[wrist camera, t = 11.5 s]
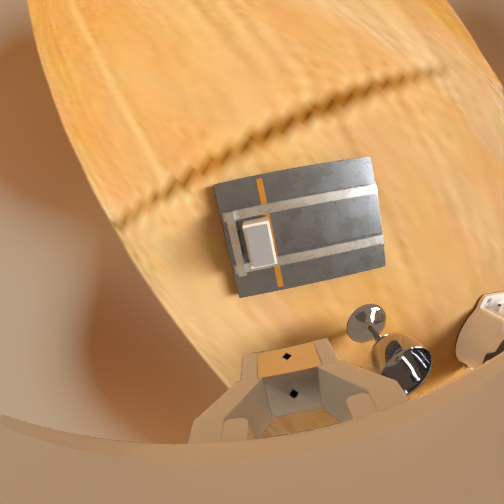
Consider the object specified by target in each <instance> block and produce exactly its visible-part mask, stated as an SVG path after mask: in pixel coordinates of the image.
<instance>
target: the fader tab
mask: <svg viewBox="0 0 504 504" xmlns="http://www.w3.org/2000/svg"><path fill="white" fill-rule="evenodd" d="M242 227H243V232H244V236H245V241H246V245H247V250H248V255H249V259H250V264H251V268H252V269H253V268H258V267H263V266H268V265H273V264H277V258H276V253H275V248H274V243H273V238H272V233H271V228H270V223H269V220H268V218H267V216H264V217H259V218H254V219H249V220H244V222H243V225H242Z"/></svg>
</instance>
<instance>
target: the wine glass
mask: <svg viewBox="0 0 504 504" xmlns="http://www.w3.org/2000/svg"><path fill="white" fill-rule="evenodd" d="M385 323H386V315H385V312H384V310H383V309H382V308H381V307H380V306H378V305H375V304H367V305H364V306H362V307H360V308H358V309H357V310H356V311H355V312H354V313H353V314H352V315H351V317H350V319H349V321H348V324H347V331H348V334H349V336H350V338H351V339H353V340H354V341H356V342H362V343H363V342H368V341H371V340H373V339H375V341H376V343H375V344H374V345H373V347H372V349H371V351H370V354H369V369H370V371H371V372H374V373H377V374H379V375H382V376H385V377H388V378H390V379H393V380H396V381H397V382H398V383H399V385H400V386H401V388H402V389H403V391H404V392H405V394H406V395H409V394H411V393H412V392H414V391H415V390H416V389H417V388H419V387H420V386H421V385H422V384H423V382H424V381H425V380H426V378H427V377H428V375H429V373H430V371H431V368H432V356H431V354H430V352H429V351H428V350H427V349H426V348H425V347H424V346H423V345H422V344H421V343H420V342H419V341H418V340H416V339H414V338H413V337H411V336H409V335H407V334H404V333H400V332H394V333H389V334H386V335H384V336H381V335H380V333H381V332H382V330H383V329H384V326H385Z"/></svg>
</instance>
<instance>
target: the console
mask: <svg viewBox="0 0 504 504" xmlns="http://www.w3.org/2000/svg"><path fill="white" fill-rule="evenodd" d="M214 190H215V194H216V199H217V203H218V208H219V212H220V217H221V221H222V226H223V230H224V235H225V239H226V243H227V248H228V252H229V256H230V260H231V265H232V269H233V273H234V277H235V282H236V286H237V290H238V294H239V298H242V297H247V296H253V295H258V294H263V293H268V292H273V291H278V290H283V289H287V288H292V287H297V286H302V285H306V284H311V283H315V282H320V281H324V280H329V279H333V278H337V277H342V276H346V275H350V274H355V273H359V272H363V271H367V270H371V269H375V268H379V267H383V266H385V254H384V243H385V242H384V235H383V234H382V226H381V218H380V211H379V204H378V197H377V193H378V190H377V184H375V179H374V174H373V169H372V164H371V159H370V157H365V158H357V159H349V160H342V161H335V162H329V163H322V164H316V165H310V166H304V167H298V168H292V169H287V170H281V171H276V172H271V173H266V174H261V175H256V176H251V177H246V178H242V179H237V180H232V181H228V182H224V183H219V184H215V185H214ZM264 216H267V218H268V220H269V223H270V228H271V233H272V238H273V243H274V248H275V253H276V258H277V264H273V265H268V266H263V267H258V268H253V269H252V268H251V264H250V259H249V255H248V250H247V245H246V241H245V236H244V232H243V227H242V225H243V222H244V220H249V219H254V218H259V217H264Z"/></svg>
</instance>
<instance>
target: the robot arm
mask: <svg viewBox="0 0 504 504" xmlns="http://www.w3.org/2000/svg"><path fill="white" fill-rule="evenodd" d="M456 357H457V359H458V360H459V361H460V362H462V363H464V364H466V365H467V366H468V368H470V369H471V370H472V371H470V372H468V373H466V374H464V375H462V376H460V377H458V378H456V379H454V380H452V381H450V382H448V383H446V384H444V385H442V386H440V387H438V388H436V389H434V390H431V391H429V392H427V393H425V394H422V395H420V396H418V397H415V398H413V399H410V400H409V398H408V397H407V395H406V394H405V392H404V391H403V389H402V388H401V386H400V385H399V383H398V382H397V381H396V380H393V379H390V378H388V377H385V376H382V375H379V374H377V373H374V372H371V371H369V370H366V369H363V368H361V367H358V366H355V365H353V364H350V363H348V362H345V361H338V359H337V356H336V354H335V352H334V350H333V348H332V346H331V344H330V342H329V340H328V338H323V339H320V340H316V341H312V342H308V343H304V344H300V345H296V346H292V347H287V348H280V349H275V350H269V351H263V352H258V353H257V352H255V353H250V354H244V355H243V356H242V367H241V381H239V382H236V383H235V384H234V385H233V386H232V387H231V388H229V389H228V390H227V391H226V392H225V393H224V394H223V395H222V396H221V397H220V398H219V399H218V400H216V401H215V402H214V403H213V404H212V405H211V406H210V407H209V408H208V409H206V410H205V411H204V412H203V413H202V414H201V415H200V416H198V418H196V419H195V420H194V421H193V425H192V429H191V433H190V437H189V441H188V444H168V443H144V442H130V441H120V440H111V439H103V438H96V437H90V436H83V435H78V434H73V433H68V432H63V431H59V430H54V429H50V428H46V427H42V426H38V425H35V424H31V423H27V422H25V421H21V420H18V419H15V418H12V417H9V416H6V415H0V504H504V291H503V292H497V293H491V294H485V295H483V296H482V297H481V298H480V300H479V302H478V304H477V307H476V309H475V310H474V312H473V313H472V314H471V315H470V317H469V318H468V319H467V321H466V322H465V324H464V326H463V327H462V329H461V332H460V334H459V337H458V340H457V343H456ZM319 408H322V409H323V410H325V411H326V412H328V413H329V414H330V415H332V416H333V417H334V418H336V419H337V420H339V421H340V422H341V423H337V424H333V425H329V426H325V427H321V428H317V429H312V430H307V431H302V432H297V433H292V434H286V435H280V436H274V437H267V438H261V436H262V435H263V433H264V432H265V430H266V429H267V427H268V426H269V424H270V423H271V421H272V419H273V417H279V416H284V415H288V414H293V413H297V412H303V411H309V410H314V409H319Z"/></svg>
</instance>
